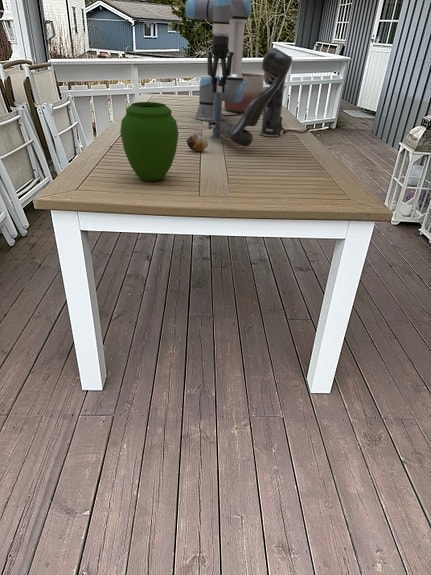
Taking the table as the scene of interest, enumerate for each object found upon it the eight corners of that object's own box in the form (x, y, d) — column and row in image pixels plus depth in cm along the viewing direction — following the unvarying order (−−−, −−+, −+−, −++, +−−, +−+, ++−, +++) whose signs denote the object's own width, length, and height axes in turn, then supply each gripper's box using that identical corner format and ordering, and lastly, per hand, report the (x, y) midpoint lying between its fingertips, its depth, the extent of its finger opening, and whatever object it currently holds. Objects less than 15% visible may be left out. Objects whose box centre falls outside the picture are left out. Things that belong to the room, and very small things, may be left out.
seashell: (207, 149, 185) (207, 131, 181) (208, 152, 180) (209, 134, 176) (186, 149, 184) (186, 130, 179) (187, 152, 179) (187, 133, 175)
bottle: (212, 137, 207) (214, 88, 195) (212, 136, 210) (214, 87, 198) (220, 138, 207) (222, 88, 195) (220, 136, 210) (222, 87, 198)
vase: (131, 189, 135) (125, 110, 122) (118, 172, 150) (112, 100, 137) (186, 184, 142) (187, 109, 129) (169, 168, 157) (167, 99, 144)
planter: (265, 114, 273) (268, 77, 261) (227, 113, 269) (230, 75, 257) (255, 107, 294) (258, 73, 282) (221, 107, 290) (222, 72, 278)
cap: (214, 91, 199) (214, 85, 197) (221, 91, 199) (222, 86, 198) (214, 92, 196) (214, 86, 194) (222, 92, 196) (222, 87, 195)
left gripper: (232, 35, 191) (229, 91, 204) (200, 34, 184) (199, 91, 197) (240, 36, 186) (237, 93, 198) (208, 34, 179) (206, 93, 191)
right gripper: (241, 120, 194) (228, 113, 207) (213, 120, 189) (201, 114, 203) (240, 136, 198) (227, 129, 211) (212, 137, 193) (201, 130, 207)
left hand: (218, 92), depth 197 cm, fingers closed on cap, 4 cm apart
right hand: (215, 122), depth 207 cm, fingers closed on bottle, 4 cm apart
